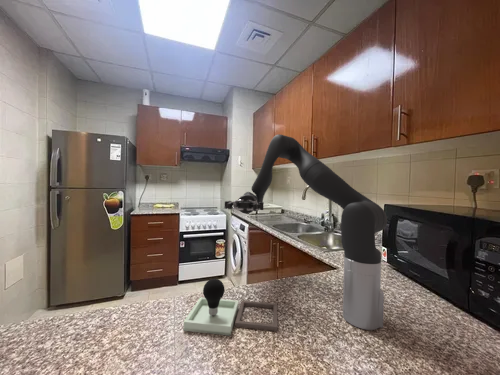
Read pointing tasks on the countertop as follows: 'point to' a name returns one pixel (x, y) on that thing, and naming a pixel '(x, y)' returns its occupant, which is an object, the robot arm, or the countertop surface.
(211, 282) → the light bulb
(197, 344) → the countertop surface
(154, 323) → the countertop surface
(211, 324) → the parts tray
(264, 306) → the brown square frame
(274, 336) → the countertop surface
